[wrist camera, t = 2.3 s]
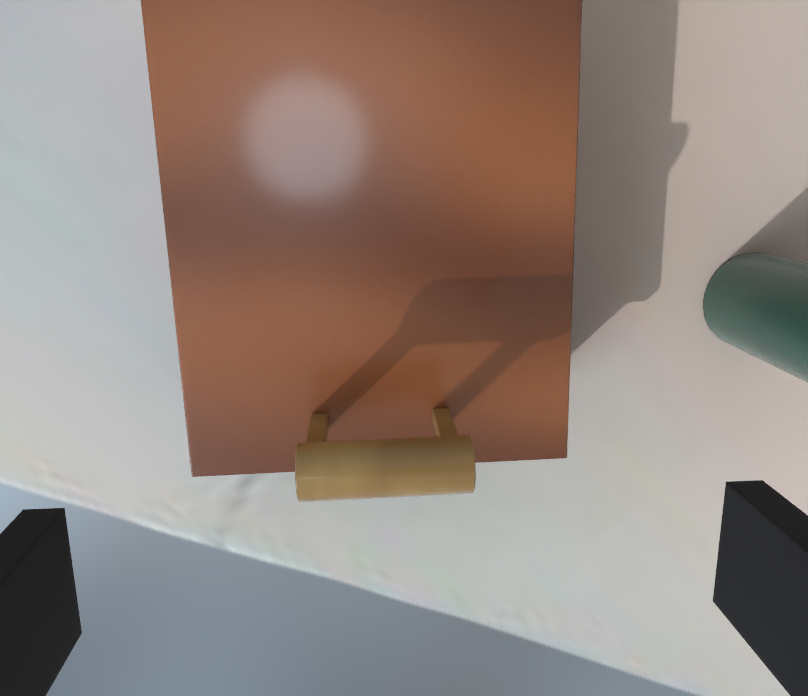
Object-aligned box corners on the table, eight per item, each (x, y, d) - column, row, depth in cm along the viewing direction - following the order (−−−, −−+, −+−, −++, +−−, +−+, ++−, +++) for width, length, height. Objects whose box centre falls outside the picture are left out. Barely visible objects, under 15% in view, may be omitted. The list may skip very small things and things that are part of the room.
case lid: (562, 451, 32) (616, 527, 25) (195, 469, 31) (152, 552, 24) (576, -14, 27) (647, -71, 20) (145, -9, 26) (74, -66, 20)
